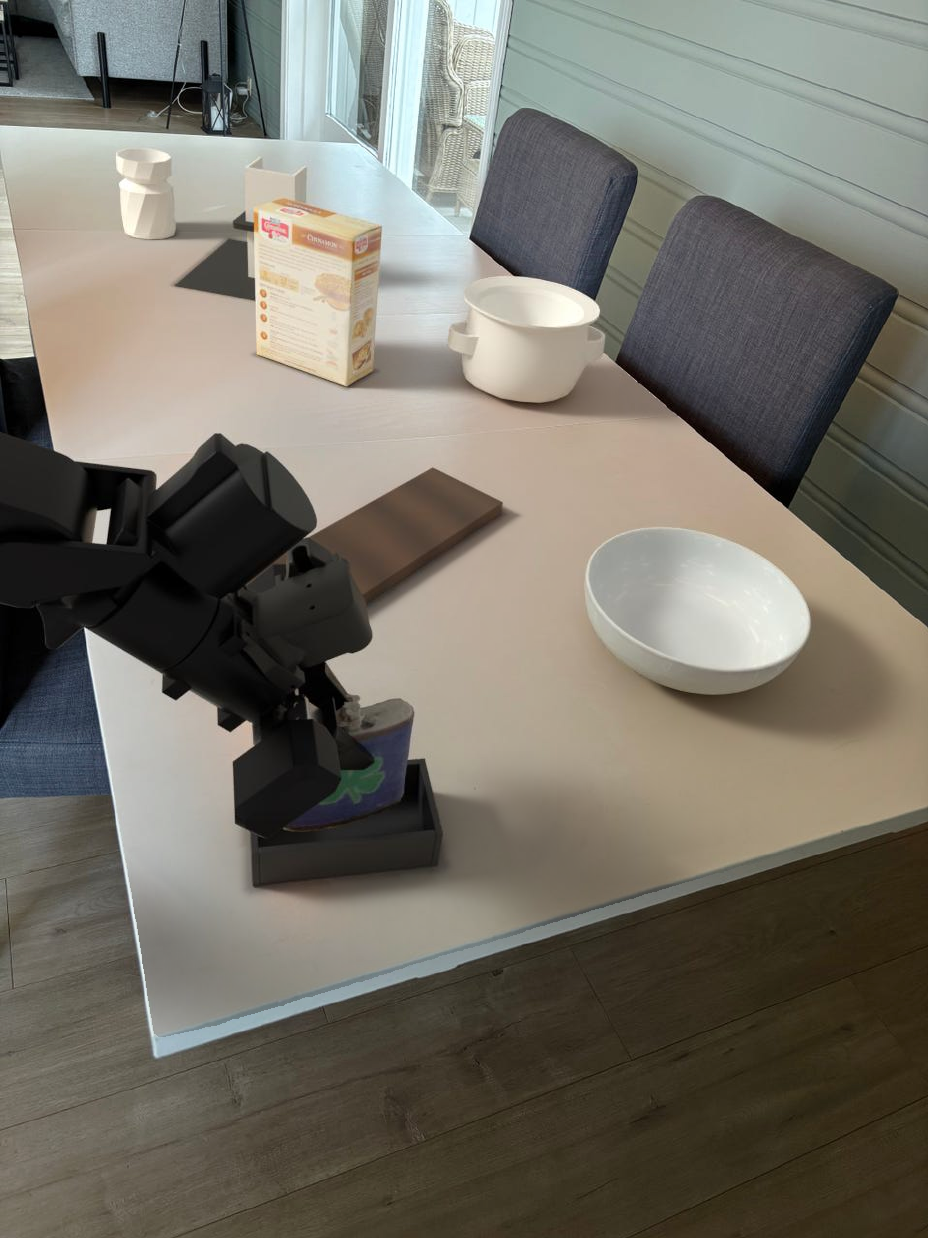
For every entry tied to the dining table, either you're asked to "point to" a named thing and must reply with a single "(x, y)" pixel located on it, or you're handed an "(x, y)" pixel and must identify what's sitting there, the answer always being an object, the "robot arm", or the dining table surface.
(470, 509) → the board
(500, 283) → the pot
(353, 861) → the open box
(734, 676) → the serving bowl
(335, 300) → the coffeecake box
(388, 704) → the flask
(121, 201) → the vase
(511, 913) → the dining table surface
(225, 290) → the black and white stand
